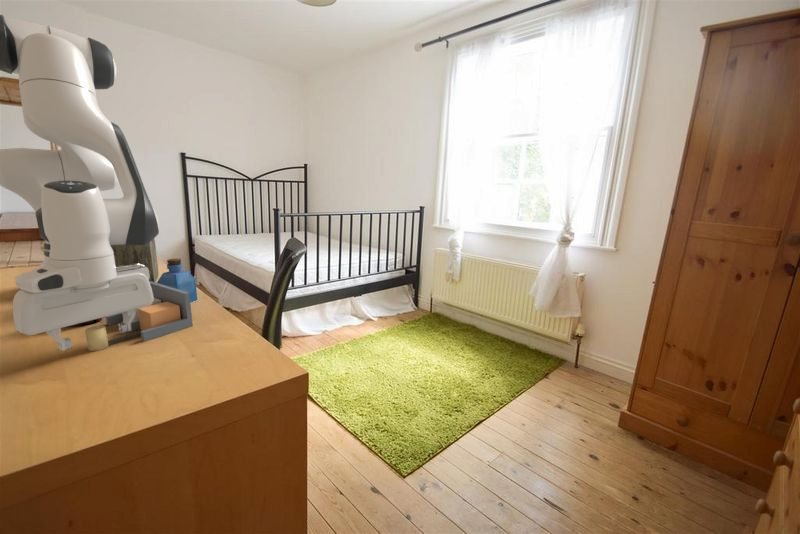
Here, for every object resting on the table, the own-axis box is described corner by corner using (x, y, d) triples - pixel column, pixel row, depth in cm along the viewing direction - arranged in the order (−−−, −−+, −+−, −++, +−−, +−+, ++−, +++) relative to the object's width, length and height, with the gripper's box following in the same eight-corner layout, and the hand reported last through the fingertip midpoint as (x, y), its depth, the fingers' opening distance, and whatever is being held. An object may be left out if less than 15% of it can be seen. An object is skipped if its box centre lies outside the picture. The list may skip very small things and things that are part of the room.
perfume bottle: (179, 308, 91) (174, 263, 89) (159, 305, 92) (153, 261, 90) (197, 300, 97) (193, 258, 94) (178, 298, 98) (173, 256, 96)
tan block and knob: (83, 347, 69) (79, 323, 67) (169, 321, 82) (166, 301, 81) (95, 353, 66) (91, 329, 65) (181, 326, 80) (179, 305, 79)
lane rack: (106, 324, 79) (101, 290, 78) (154, 311, 88) (150, 281, 86) (144, 341, 72) (139, 304, 70) (192, 325, 80) (189, 292, 79)
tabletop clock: (124, 291, 103) (111, 205, 97) (161, 288, 107) (150, 205, 101) (113, 306, 90) (98, 208, 85) (156, 302, 95) (144, 208, 89)
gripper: (139, 259, 76) (147, 319, 79) (1, 279, 58) (18, 355, 61) (155, 263, 73) (163, 326, 76) (14, 285, 55) (32, 365, 58)
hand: (97, 339), depth 68 cm, fingers open, 8 cm apart
